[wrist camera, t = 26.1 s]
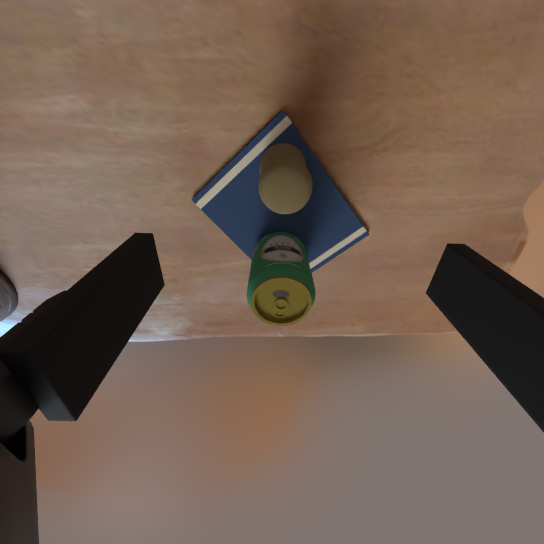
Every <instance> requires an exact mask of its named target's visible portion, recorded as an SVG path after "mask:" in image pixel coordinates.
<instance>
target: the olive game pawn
mask: <svg viewBox="0 0 544 544" xmlns="http://www.w3.org/2000/svg"><path fill="white" fill-rule="evenodd" d="M259 173H260V179H259V183H258V185H259V194H260V197H261V200H262V201H263V203H264V204H265V205H266V206H267V207H268V208H269V209H270V210H272V211H273V212H276V213H279V214H291V213H294V212H297V211H298V210H300V209H301V208H303V207H304V206H305V204H306V203H307V202H308V200H309V198H310V196H311V193H312V186H313V182H312V178H311V174H310V173H309V171H308V169H307V168H306V161H305V158H304V156H303V154H302V153H301V151H300V150H299V149H298V148H296V147H295V146H293V145H291V144H288V143H279V144H276V145H273V146H271V147H270V148H269V149H267V150H266V151H265V153H264V154H263V156H262V157H261V161H260V164H259Z"/></svg>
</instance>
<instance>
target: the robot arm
mask: <svg viewBox="0 0 544 544" xmlns="http://www.w3.org/2000/svg"><path fill="white" fill-rule="evenodd" d="M163 286H164V280H163V276H162V272H161V267H160V263H159V259H158V254H157V250H156V246H155V241H154V237H153V233H135V234H133V235H132V236H131V237H130V238H129V239H127V240H126V241H125V242H124V243H123V244H122V245H120V246H119V247H118V248H117V249H116V250H115V251H113V252H112V253H111V254H110V255H109V256H107V257H106V258H105V259H104V260H103V261H102V262H100V263H99V264H98V265H97V266H96V267H94V268H93V269H92V270H91V271H90V272H89V273H87V274H86V275H85V276H84V277H83V278H81V279H80V280H79V281H78V282H77V283H76V284H74V285H73V286H72V287H71V288H70V289H69V290H67V291H63V292H61V293H59V294H57V295H55V296H53V297H51V298H49V299H47V300H46V301H45V302H43V303H42V304H41V305H40V306H38V307H37V308H36V309H35V310H33V313H30V314H29V315H27V316H26V317H25V318H24V319H22V322H21V323H17V324H16V325H15V326H14V327H13V328H11V329H10V330H9V331H8V332H6V333H5V334H4V335H3V336H1V337H0V544H39V535H38V513H37V490H36V468H35V447H34V428H33V426H32V423H31V422H30V421H29V419H30V418H31V417H32V416H33V415H34V414H35V412H36V411H37V410H38V409H40V410H41V412H42V413H43V414H44V416H45V417H46V418H47V419H48V420H52V421H77V419H78V417H79V416H80V415H81V413H82V411H83V410H84V408H85V407H86V405H87V404H88V402H89V401H90V399H91V398H92V396H93V394H94V393H95V391H96V390H97V388H98V387H99V385H100V384H101V382H102V381H103V379H104V378H105V376H106V374H107V373H108V371H109V370H110V368H111V367H112V365H113V363H114V362H115V360H116V359H117V357H118V356H119V354H120V353H121V351H122V350H123V348H124V347H125V345H126V343H127V342H128V340H129V339H130V337H131V336H132V334H133V333H134V331H135V330H136V328H137V327H138V325H139V323H140V322H141V320H142V319H143V317H144V316H145V314H146V313H147V311H148V310H149V308H150V306H151V305H152V303H153V302H154V300H155V299H156V297H157V296H158V294H159V293H160V291H161V290H162V288H163ZM426 294H427V295H428V296H429V298H430V299H431V300H432V301H433V302H434V303H435V305H436V306H437V307H438V308H439V309H440V311H441V312H442V313H443V314H444V315H445V316H446V318H447V319H448V320H449V321H450V322H451V324H452V325H453V326H454V327H455V328H456V329H457V331H458V332H459V333H460V334H461V335H462V337H463V338H464V339H465V340H466V341H467V342H468V343H469V345H470V346H471V347H472V348H473V349H474V351H475V352H476V353H477V354H478V355H479V357H480V358H481V359H482V360H483V361H484V362H485V363H486V365H487V366H488V367H489V368H490V369H491V371H492V372H493V373H494V374H495V375H496V377H497V378H498V379H499V380H500V381H501V383H502V384H503V385H504V386H505V387H506V388H507V390H508V391H509V392H510V393H511V394H512V396H514V398H515V399H516V400H517V401H518V403H519V404H520V405H521V406H522V407H523V408H524V410H525V411H526V412H527V413H528V414H529V416H530V417H531V418H532V419H533V420H534V421H535V423H536V424H537V425H538V426H539V427H540V429H541V430H542V431H543V432H544V298H543V297H541V296H540V295H538V294H537V293H536V292H534V291H533V290H531V289H530V288H528V287H527V286H525V285H524V284H522V283H521V282H519V281H518V280H516V279H515V278H514V277H512V276H511V275H509V274H508V273H506V272H505V271H503V270H502V269H500V268H499V267H497V266H496V265H494V264H493V263H492V262H490V261H489V260H487V259H486V258H484V257H483V256H481V255H480V254H478V253H477V252H475V251H474V250H472V249H471V248H470V247H468V246H467V245H465V244H448V243H447V246H446V248H445V250H444V253H443V255H442V257H441V259H440V262H439V264H438V266H437V269H436V271H435V273H434V276H433V278H432V280H431V282H430V285H429V287H428V289H427V292H426ZM16 307H17V295H16V292H15V290H14V288H13V286H12V285H11V283H10V282H9V280H8V279H7V278H6V277H5V276H4V275H3V274H2V273H1V272H0V321H2V320H3V319H5V318H6V317H7V316H9V315H10V314H11V313H13V312H14V310H15V309H16Z"/></svg>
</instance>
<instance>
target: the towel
mask: <svg viewBox="0 0 544 544" xmlns="http://www.w3.org/2000/svg"><path fill="white" fill-rule="evenodd" d="M279 143H288V144H291V145H293V146H295V147H296V148H298V149H299V150H300V151H301V153H302V154H303V156H304V158H305V161H306V168H307V169H308V171H309V173H310V174H311V178H312V182H313V186H312V193H311V196H310V198H309V200H308V202H307V203H306V204H305V206H304V207H303V208H301V209H300V210H298V211H297V212H294V213H291V214H279V213H276V212H273V211H272V210H270V209H269V208H268V207H267V206H266V205H265V204H264V203H263V201H262V200H261V197H260V194H259V185H258V183H259V179H260V173H259V164H260V161H261V157H262V156H263V154H264V153H265V151H266V150H267V149H269V148H270V147H271V146H273V145H276V144H279ZM192 201H193V202H194V203H195V204H196V205H197V206H198V207H199V208H200V209H201V210H202V211H203V212H204V213H205V214H206V215H207V216H208V217H209V218H210V219H211V220H212V221H213V222H214V223H215V224H216V225H217V226H218V227H219V228H220V229H221V230H222V231H223V232H224V233H225V234H226V235H227V236H228V237H229V238H230V239H231V240H232V241H233V242H234V243H235V244H236V245H237V246H238V247H239V248H240V249H241V250H242V251H243V252H244V253H245V254H246V255H247V256H248V257H249V258H250V259H251V260H252V256H253V251H254V248H255V246H256V244H257V242H258V241H259V240H260V239H261V238H263V237H264V236H266V235H268V234H270V233H274V232H286V233H290V234H292V235H294V236H296V237H297V238H299V239H300V240H301V242H302V243H303V244H304V246H305V249H306V252H307V257H308V261H309V265H310V270H311V273H312V272H313V271H315V270H316V269H318V268H319V267H321V266H322V265H324V264H325V263H327V262H328V261H330V260H331V259H333V258H334V257H336V256H337V255H339V254H340V253H342V252H343V251H345V250H346V249H348V248H349V247H351V246H353V245H354V244H356V243H357V242H359V241H360V240H362V239H363V238H365V237H366V236H368V235H369V233H368V232H367V231H366V229H365V228H364V226H363V225H362V223H361V222H360V220H359V219H358V218H357V216H356V215H355V213H354V212H353V210H352V209H351V207H350V206H349V205H348V203H347V202H346V200H345V199H344V197H343V196H342V194H341V193H340V192H339V190H338V189H337V187H336V186H335V184H334V183H333V181H332V180H331V179H330V177H329V176H328V174H327V173H326V171H325V170H324V168H323V167H322V166H321V164H320V163H319V161H318V160H317V158H316V157H315V155H314V154H313V152H312V151H311V150H310V148H309V147H308V145H307V144H306V142H305V141H304V139H303V138H302V137H301V135H300V134H299V132H298V131H297V129H296V128H295V126H294V125H293V124H292V122H291V121H290V119H289V118H288V116H287V115H286V113H285V112H284V111H283V110H282V111H281V112H280V113H279V114H278V115H277V116H276V117H275V118H274V119H273V120H272V121H271V122H270V123H269V124H268V125H267V126H266V127H265V128H264V129H263V130H262V131H261V132H260V133H259V134H258V135H257V136H256V137H255V138H254V139H253V140H252V141H251V142H250V143H249V144H248V145H247V146H246V147H245V148H244V149H243V150H242V151H241V152H240V153H239V154H238V155H237V156H236V157H234V158H233V159H232V160H231V161H230V162H229V163H228V164H227V165H226V166H225V167H224V168H223V169H222V170H221V171H220V172H219V173H218V174H217V175H216V176H215V177H214V178H213V179H212V180H211V181H210V182H209V183H208V184H207V185H206V186H205V187H204V188H203V189H202V190H201V191H200V192H199V193H198V194H197V195H196V196H195V197H194V198H193V199H192Z"/></svg>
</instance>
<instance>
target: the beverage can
mask: <svg viewBox="0 0 544 544" xmlns="http://www.w3.org/2000/svg"><path fill="white" fill-rule="evenodd" d="M315 294H316V293H315V287H314V283H313V278H312V274H311V270H310V265H309V261H308V257H307V252H306V249H305V246H304V244H303V243H302V242H301V240H300V239H299V238H297V237H296V236H294V235H292V234H290V233H286V232H274V233H270V234H268V235H266V236H264V237H263V238H261V239H260V240H259V241H258V242H257V244H256V246H255V248H254V251H253V256H252V263H251V269H250V276H249V282H248V289H247V300H248V303H249V305H250V307H251V308H252V310H253V311H254V313H255V314H256V316H257V317H258V318H259V319H261V320H262V321H264V322H266V323H269V324H272V325H278V326H284V325H290V324H294V323H296V322H298V321H300V320H301V319H303V318H304V317H305V316H306V315H307V314H308V312H309V310H310V308H311V307H312V305H313V303H314V300H315Z"/></svg>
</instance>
